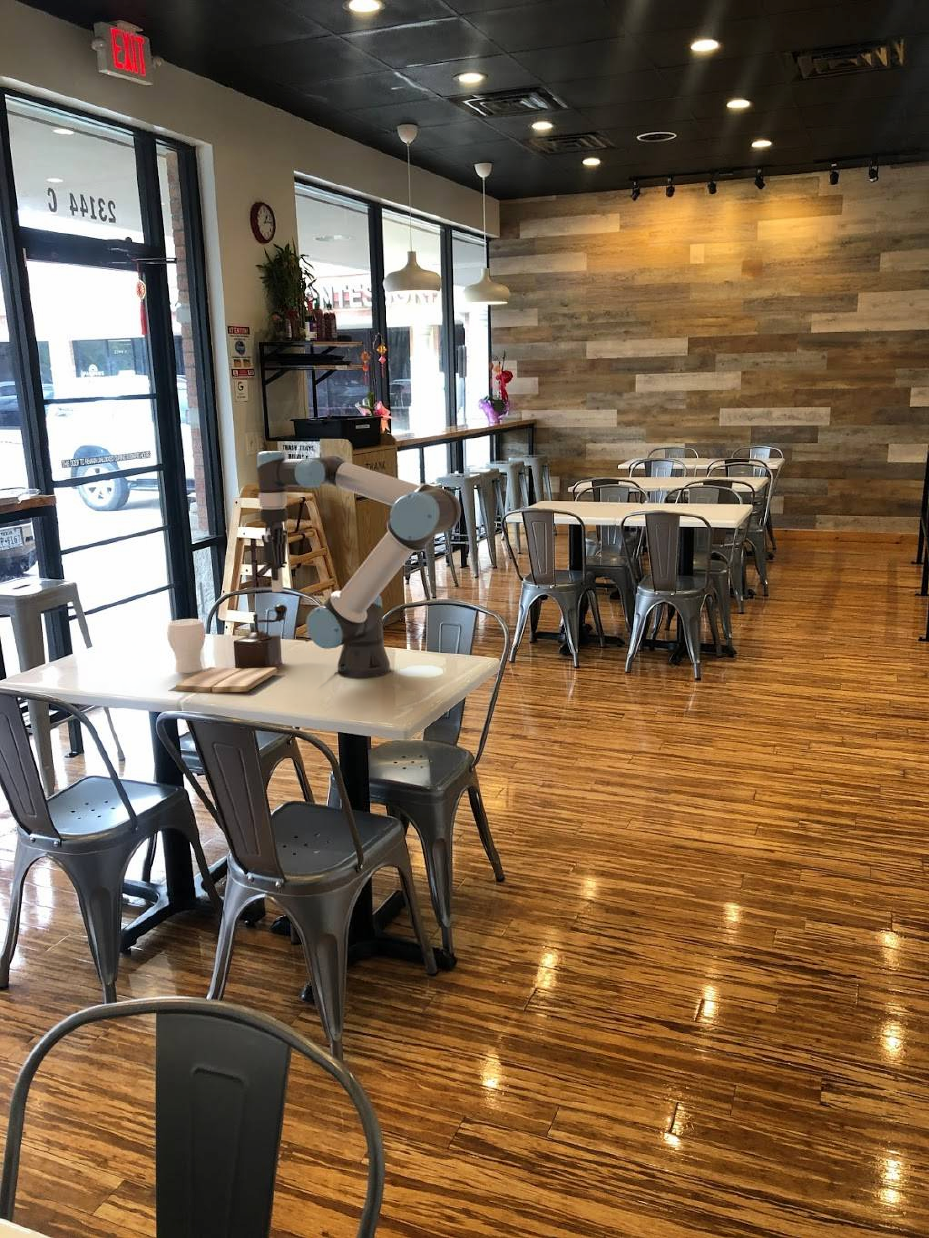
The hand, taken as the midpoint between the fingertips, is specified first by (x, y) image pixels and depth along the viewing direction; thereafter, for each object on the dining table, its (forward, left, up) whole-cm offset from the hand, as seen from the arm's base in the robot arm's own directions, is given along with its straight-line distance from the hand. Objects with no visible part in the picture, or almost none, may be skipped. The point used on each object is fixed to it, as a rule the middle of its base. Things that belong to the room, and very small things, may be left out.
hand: (277, 591), depth 295 cm
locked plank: (+15, +14, -23) cm, 31 cm away
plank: (+5, +14, -23) cm, 27 cm away
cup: (+28, +2, -25) cm, 37 cm away
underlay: (+10, +14, -24) cm, 30 cm away
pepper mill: (+9, -8, -25) cm, 27 cm away
